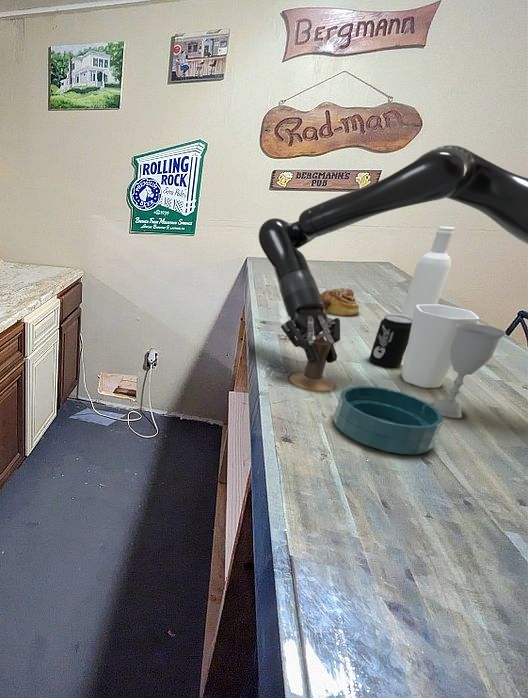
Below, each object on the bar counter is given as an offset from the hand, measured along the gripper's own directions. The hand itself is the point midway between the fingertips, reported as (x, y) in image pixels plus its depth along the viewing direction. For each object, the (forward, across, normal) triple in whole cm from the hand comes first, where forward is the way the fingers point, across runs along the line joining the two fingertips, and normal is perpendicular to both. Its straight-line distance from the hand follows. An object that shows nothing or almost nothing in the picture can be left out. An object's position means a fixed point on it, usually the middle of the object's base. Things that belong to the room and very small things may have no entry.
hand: (323, 361), depth 101 cm
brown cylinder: (+2, 0, +5) cm, 5 cm away
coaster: (+3, 0, +6) cm, 6 cm away
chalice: (+15, +18, -6) cm, 24 cm away
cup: (+5, +26, +4) cm, 27 cm away
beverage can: (-2, +26, +11) cm, 28 cm away
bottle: (-18, +57, +27) cm, 66 cm away
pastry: (-31, +46, +40) cm, 68 cm away
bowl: (+18, -2, -9) cm, 20 cm away
